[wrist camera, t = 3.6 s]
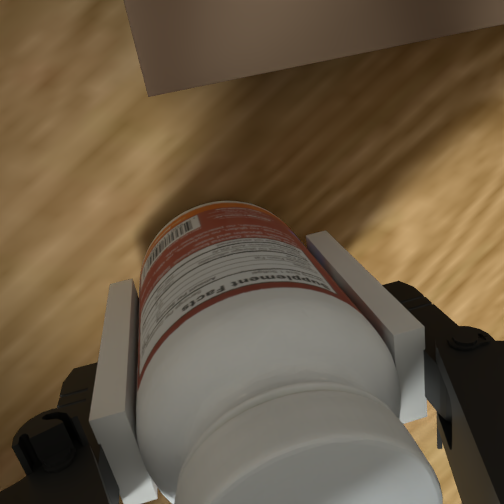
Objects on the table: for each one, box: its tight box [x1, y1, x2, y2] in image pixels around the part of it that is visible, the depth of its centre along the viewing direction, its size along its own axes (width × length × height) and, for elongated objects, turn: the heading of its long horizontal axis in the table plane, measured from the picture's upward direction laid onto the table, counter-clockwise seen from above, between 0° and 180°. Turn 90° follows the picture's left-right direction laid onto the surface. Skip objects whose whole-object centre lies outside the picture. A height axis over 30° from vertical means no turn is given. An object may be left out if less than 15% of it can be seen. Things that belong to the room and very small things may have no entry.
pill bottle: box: [136, 201, 443, 504], centre depth 13 cm, size 6×6×11 cm
